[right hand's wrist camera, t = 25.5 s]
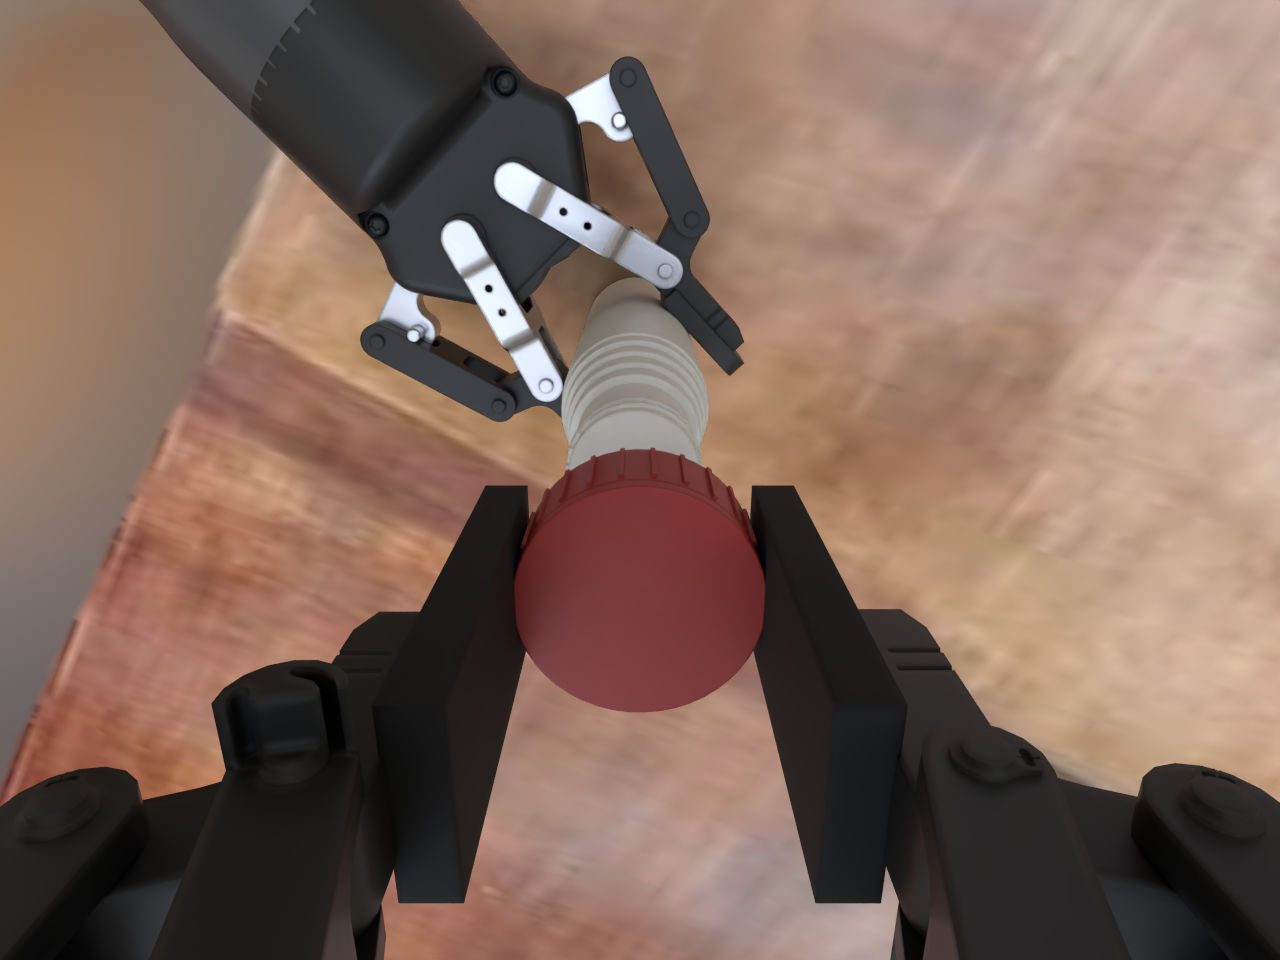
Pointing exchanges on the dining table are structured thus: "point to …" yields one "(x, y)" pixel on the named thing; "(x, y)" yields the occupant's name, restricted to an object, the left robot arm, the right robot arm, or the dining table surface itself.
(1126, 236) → the dining table surface
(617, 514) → the cap
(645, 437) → the bottle
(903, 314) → the dining table surface
